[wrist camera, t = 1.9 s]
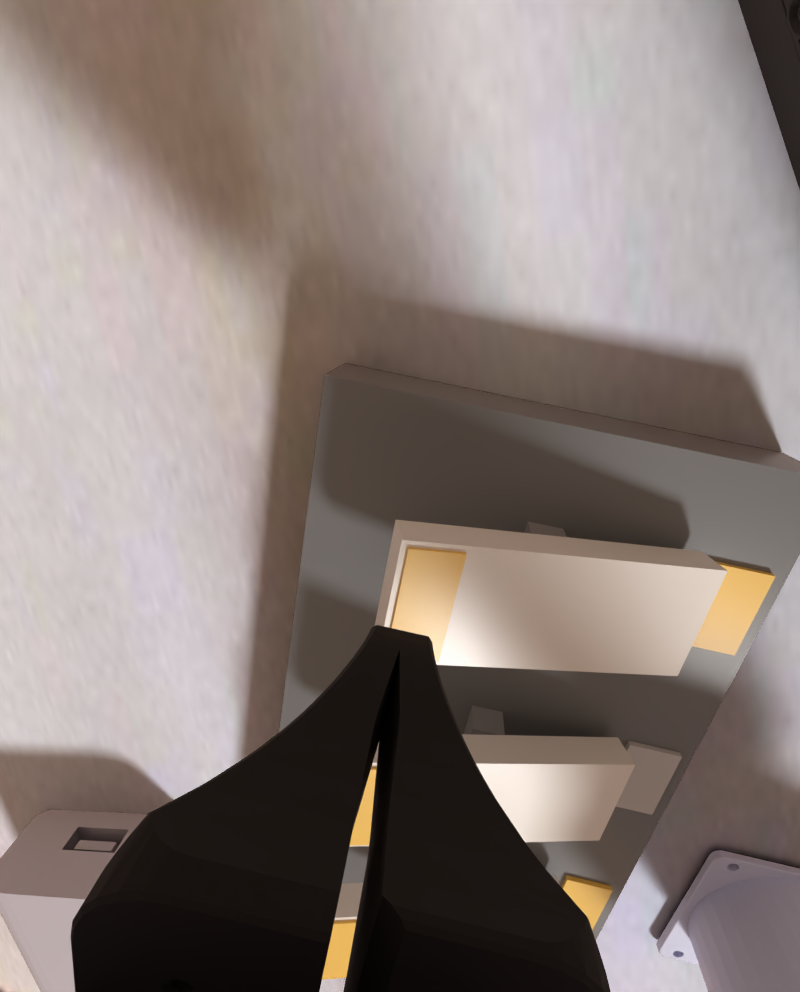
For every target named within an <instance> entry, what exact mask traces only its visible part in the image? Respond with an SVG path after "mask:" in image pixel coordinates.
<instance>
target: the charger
mask: <svg viewBox="0 0 800 992" xmlns="http://www.w3.org/2000/svg"><path fill="white" fill-rule="evenodd" d="M147 815H148V814H136V813H116V812H96V811H77V810H55V809H50V810H47V811H44V812H42V813H40V814H39V815H37V816H36V817H35V818H33V819H32V821H31V822H30V823H29V824H28V825H27V827H26V828H25V829H24V830H23V832H22V833H21V834H20V835H19V836H18V838H17V839H16V840H15V841H14V843H13V844H12V845H11V846H10V847H9V849H8V850H7V851H6V852H5V854H4V855H3V856H2V857H1V858H0V913H1V915H2V917H3V919H4V921H5V923H6V925H7V927H8V929H9V931H10V933H11V935H12V937H13V939H14V941H15V942H16V944H17V946H18V948H19V950H20V952H21V954H22V956H23V958H24V960H25V962H26V964H27V966H28V968H29V970H30V972H31V974H32V975H33V977H34V979H35V981H36V983H37V985H38V987H39V989H40V991H41V992H75V984H74V972H73V961H72V949H71V937H70V936H71V928H72V920H73V919H74V917H75V916H76V914H77V912H78V911H79V909H80V907H81V906H82V904H83V902H84V901H85V899H86V897H87V896H88V894H89V893H90V891H91V889H92V888H93V886H94V884H95V883H96V881H97V879H98V878H99V876H100V875H101V873H102V871H103V870H104V868H105V867H106V865H107V864H108V863H109V861H110V860H111V858H112V857H113V856H114V854H115V853H116V852H117V851H118V849H119V848H120V847H121V846H122V844H123V843H124V842H125V840H126V839H127V838H128V837H129V835H130V834H131V833H132V832H133V831H134V829H135V828H136V827H137V826H138V825H139V824H140V822H141V821H142V820H143V819H144V818H145V817H146V816H147Z"/></svg>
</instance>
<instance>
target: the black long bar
mask: <svg viewBox="0 0 800 992" xmlns="http://www.w3.org/2000/svg"><path fill="white" fill-rule="evenodd" d="M738 1H739V4H740V7H741V10H742V14H743V17H744V20H745V23H746V26H747V29H748V32H749V35H750V38H751V41H752V44H753V47H754V50H755V53H756V57H757V60H758V63H759V66H760V69H761V72H762V75H763V78H764V81H765V84H766V87H767V90H768V93H769V97H770V100H771V103H772V106H773V109H774V112H775V115H776V118H777V121H778V124H779V127H780V130H781V133H782V137H783V140H784V143H785V146H786V149H787V152H788V155H789V158H790V161H791V164H792V167H793V170H794V173H795V177H796V180H797V183H798V186H799V189H800V0H738Z"/></svg>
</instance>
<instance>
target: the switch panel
mask: <svg viewBox="0 0 800 992" xmlns="http://www.w3.org/2000/svg"><path fill="white" fill-rule="evenodd" d="M395 520H405V521H415V522H424V523H434V524H444V525H454V526H463V527H473V528H483V529H492V530H502V531H512V532H521V533H531V534H541V535H550V536H560V537H570V538H579V539H589V540H599V541H608V542H618V543H628V544H637V545H647V546H657V547H666V548H676V549H686V550H695V551H702V552H703V553H705V554H706V555H707V556H709V557H710V558H711V559H713V560H714V561H715V562H717V563H718V564H719V565H721V566H722V567H723V568H725V569H726V570H727V571H728V572H727V574H726V576H725V578H724V580H723V582H722V584H721V586H720V588H719V590H718V593H717V595H716V597H715V599H714V601H713V603H712V605H711V607H710V609H709V611H708V614H707V616H706V618H705V620H704V622H703V624H702V626H701V628H700V630H699V632H698V635H697V637H696V639H695V641H694V643H693V645H692V647H691V649H690V651H689V653H688V655H687V658H686V660H685V662H684V664H683V666H682V668H681V670H680V672H679V674H678V676H664V675H642V674H621V673H600V672H579V671H557V670H536V669H515V668H494V667H473V666H451V665H437V668H438V671H439V675H440V678H441V682H442V685H443V688H444V691H445V693H446V696H447V699H448V702H449V705H450V707H451V710H452V713H453V715H454V718H455V720H456V722H457V725H458V727H459V729H460V732H461V734H471V735H523V736H574V737H618V738H619V740H620V741H621V743H622V745H623V746H624V748H625V749H626V751H627V752H628V754H629V756H630V757H631V759H632V760H633V762H634V763H635V767H634V769H633V771H632V773H631V775H630V777H629V779H628V781H627V783H626V786H625V788H624V790H623V792H622V794H621V796H620V798H619V800H618V802H617V804H616V806H615V809H614V811H613V813H612V815H611V817H610V819H609V821H608V823H607V825H606V827H605V830H604V832H603V834H602V836H601V838H600V840H598V841H557V842H525V843H526V844H527V846H528V847H529V848H530V849H531V851H532V852H533V853H534V855H535V856H536V857H537V859H538V860H539V861H540V863H541V864H542V865H543V866H544V868H545V869H546V870H547V871H548V872H549V873H550V875H556V876H557V879H558V881H559V884H560V886H561V887H562V888H563V890H564V891H565V892H566V893H567V894H568V895H569V897H570V898H571V899H572V900H573V901H574V902H575V903H576V905H577V906H578V907H579V908H580V909H581V910H582V911H583V913H584V914H585V915H586V916H587V918H588V919H589V922H590V925H591V928H592V931H593V934H594V937H595V940H596V939H597V937H598V935H599V933H600V931H601V929H602V927H603V925H604V924H605V922H606V920H607V918H608V916H609V914H610V912H611V910H612V908H613V907H614V905H615V903H616V901H617V899H618V897H619V895H620V893H621V891H622V890H623V888H624V886H625V884H626V882H627V880H628V878H629V876H630V874H631V872H632V871H633V869H634V867H635V865H636V863H637V861H638V859H639V857H640V855H641V854H642V852H643V850H644V848H645V846H646V844H647V842H648V840H649V838H650V836H651V835H652V833H653V831H654V829H655V827H656V825H657V823H658V821H659V819H660V818H661V816H662V814H663V812H664V810H665V808H666V806H667V804H668V802H669V801H670V799H671V797H672V795H673V793H674V791H675V789H676V787H677V785H678V783H679V782H680V780H681V778H682V776H683V774H684V772H685V770H686V768H687V766H688V765H689V763H690V761H691V759H692V757H693V755H694V753H695V751H696V749H697V747H698V746H699V744H700V742H701V740H702V738H703V736H704V734H705V732H706V730H707V729H708V727H709V725H710V723H711V721H712V719H713V717H714V715H715V713H716V711H717V710H718V708H719V706H720V704H721V702H722V700H723V698H724V696H725V694H726V693H727V691H728V689H729V687H730V685H731V683H732V681H733V679H734V677H735V676H736V674H737V672H738V670H739V668H740V666H741V664H742V662H743V660H744V658H745V657H746V655H747V653H748V651H749V649H750V647H751V645H752V643H753V641H754V640H755V638H756V636H757V634H758V632H759V630H760V628H761V626H762V624H763V622H764V621H765V619H766V617H767V615H768V613H769V611H770V609H771V607H772V605H773V604H774V602H775V600H776V598H777V596H778V594H779V592H780V590H781V588H782V587H783V585H784V583H785V581H786V579H787V577H788V575H789V573H790V571H791V569H792V568H793V566H794V564H795V562H796V560H797V558H798V556H799V554H800V461H798V460H796V459H794V458H792V457H790V456H788V455H786V454H784V453H781V452H776V451H771V450H766V449H761V448H756V447H751V446H747V445H742V444H737V443H732V442H727V441H722V440H717V439H712V438H707V437H703V436H698V435H693V434H688V433H683V432H678V431H673V430H668V429H663V428H659V427H654V426H649V425H644V424H639V423H634V422H629V421H624V420H620V419H615V418H610V417H605V416H600V415H595V414H590V413H585V412H580V411H576V410H571V409H566V408H561V407H556V406H551V405H546V404H541V403H536V402H532V401H527V400H522V399H517V398H512V397H507V396H502V395H497V394H493V393H488V392H483V391H478V390H473V389H468V388H463V387H458V386H453V385H449V384H444V383H439V382H434V381H429V380H424V379H419V378H414V377H409V376H405V375H400V374H395V373H390V372H385V371H380V370H375V369H370V368H366V367H361V366H356V365H351V364H346V363H344V364H342V365H341V366H339V367H337V368H336V369H334V370H332V371H330V372H329V373H327V374H325V376H324V384H323V391H322V399H321V407H320V415H319V423H318V430H317V438H316V446H315V454H314V462H313V470H312V477H311V485H310V493H309V501H308V509H307V516H306V524H305V532H304V540H303V548H302V556H301V563H300V571H299V579H298V587H297V595H296V602H295V610H294V618H293V626H292V634H291V642H290V649H289V657H288V665H287V673H286V681H285V688H284V696H283V704H282V712H281V720H280V728H279V732H280V731H282V730H283V729H284V728H285V727H286V726H288V725H289V724H290V723H291V722H292V721H293V720H294V719H296V718H297V717H298V716H299V715H300V714H301V713H302V712H303V711H304V710H306V709H307V708H308V707H309V706H310V705H311V704H312V703H313V702H314V701H315V700H316V699H317V698H318V697H319V696H320V695H321V694H322V693H323V691H324V690H325V689H326V688H327V687H328V686H329V685H330V684H331V683H332V682H333V681H334V680H335V679H336V678H337V676H338V675H339V674H340V673H341V671H342V670H343V669H344V668H345V667H346V665H347V664H348V663H349V662H350V661H351V659H352V658H353V657H354V655H355V654H356V652H357V651H358V650H359V648H360V647H361V645H362V644H363V642H364V641H365V639H366V637H367V636H368V634H369V632H370V630H371V628H372V627H374V626H375V621H376V616H377V611H378V606H379V601H380V596H381V591H382V586H383V581H384V576H385V571H386V566H387V560H388V555H389V550H390V545H391V540H392V535H393V530H394V525H395ZM368 850H369V846H354V847H349V851H348V856H347V861H346V866H345V871H344V876H343V881H342V883H363V881H364V876H365V870H366V865H367V858H368Z"/></svg>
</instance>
